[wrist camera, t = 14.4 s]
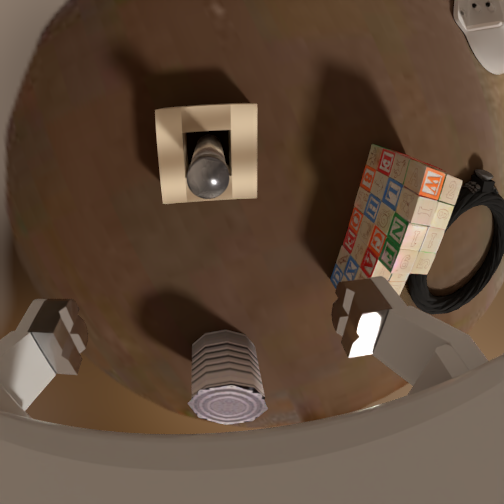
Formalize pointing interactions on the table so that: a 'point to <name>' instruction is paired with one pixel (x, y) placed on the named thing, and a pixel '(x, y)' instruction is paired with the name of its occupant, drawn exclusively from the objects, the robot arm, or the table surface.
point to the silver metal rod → (208, 169)
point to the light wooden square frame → (207, 119)
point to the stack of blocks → (396, 219)
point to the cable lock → (486, 194)
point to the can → (226, 378)
